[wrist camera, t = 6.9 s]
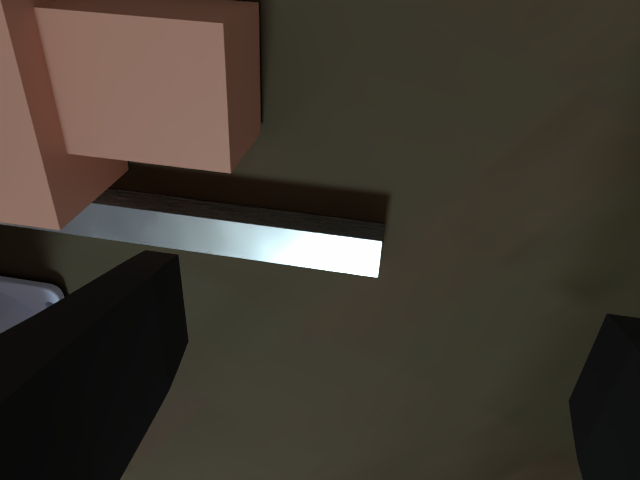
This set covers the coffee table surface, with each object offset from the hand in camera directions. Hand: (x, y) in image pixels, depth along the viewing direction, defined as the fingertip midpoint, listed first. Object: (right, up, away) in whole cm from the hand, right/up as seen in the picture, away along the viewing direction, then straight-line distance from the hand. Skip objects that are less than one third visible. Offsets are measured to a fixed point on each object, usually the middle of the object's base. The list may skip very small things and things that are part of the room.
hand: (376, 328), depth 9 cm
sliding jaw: (-7, +7, +8) cm, 12 cm away
